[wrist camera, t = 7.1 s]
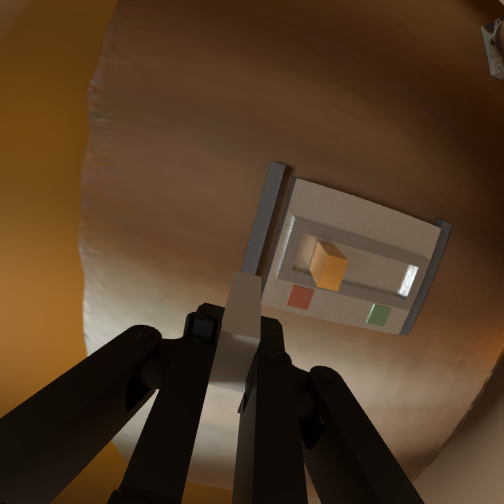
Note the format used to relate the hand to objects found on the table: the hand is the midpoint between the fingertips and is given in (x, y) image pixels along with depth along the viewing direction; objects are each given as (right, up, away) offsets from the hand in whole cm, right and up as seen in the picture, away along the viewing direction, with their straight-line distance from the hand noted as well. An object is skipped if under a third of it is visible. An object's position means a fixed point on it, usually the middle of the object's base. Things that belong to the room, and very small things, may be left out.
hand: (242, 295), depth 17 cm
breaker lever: (+8, +2, +14) cm, 16 cm away
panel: (+12, +2, +18) cm, 22 cm away
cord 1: (+1, +5, +18) cm, 18 cm away
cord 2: (+23, -1, +18) cm, 30 cm away
